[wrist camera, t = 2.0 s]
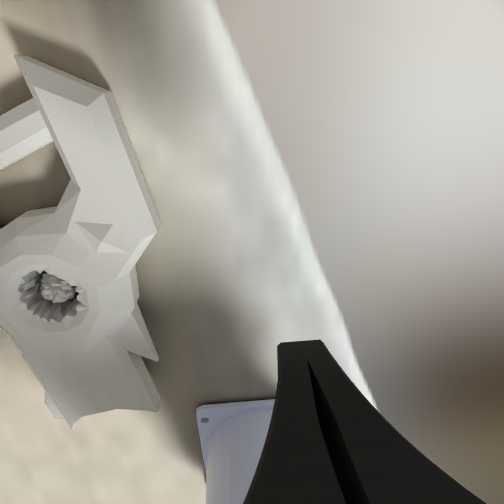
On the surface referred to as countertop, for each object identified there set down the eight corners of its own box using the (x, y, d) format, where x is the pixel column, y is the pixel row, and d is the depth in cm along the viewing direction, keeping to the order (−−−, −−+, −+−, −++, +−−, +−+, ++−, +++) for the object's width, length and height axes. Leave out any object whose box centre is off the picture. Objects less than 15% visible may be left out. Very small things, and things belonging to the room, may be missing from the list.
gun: (221, 415, 20) (45, 453, 21) (223, 369, 23) (69, 404, 24) (67, 32, 13) (-202, 112, 13) (100, 39, 16) (-120, 104, 16)
